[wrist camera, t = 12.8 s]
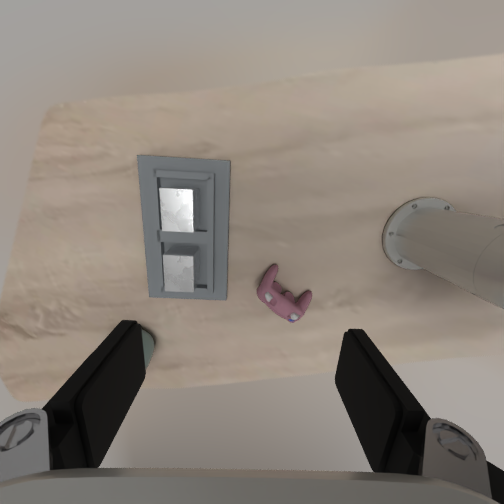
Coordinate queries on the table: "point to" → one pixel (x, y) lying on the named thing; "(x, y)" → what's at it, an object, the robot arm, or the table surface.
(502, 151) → the table surface
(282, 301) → the video game controller
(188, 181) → the grey fixture tray
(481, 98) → the table surface
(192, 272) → the block
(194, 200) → the billet
